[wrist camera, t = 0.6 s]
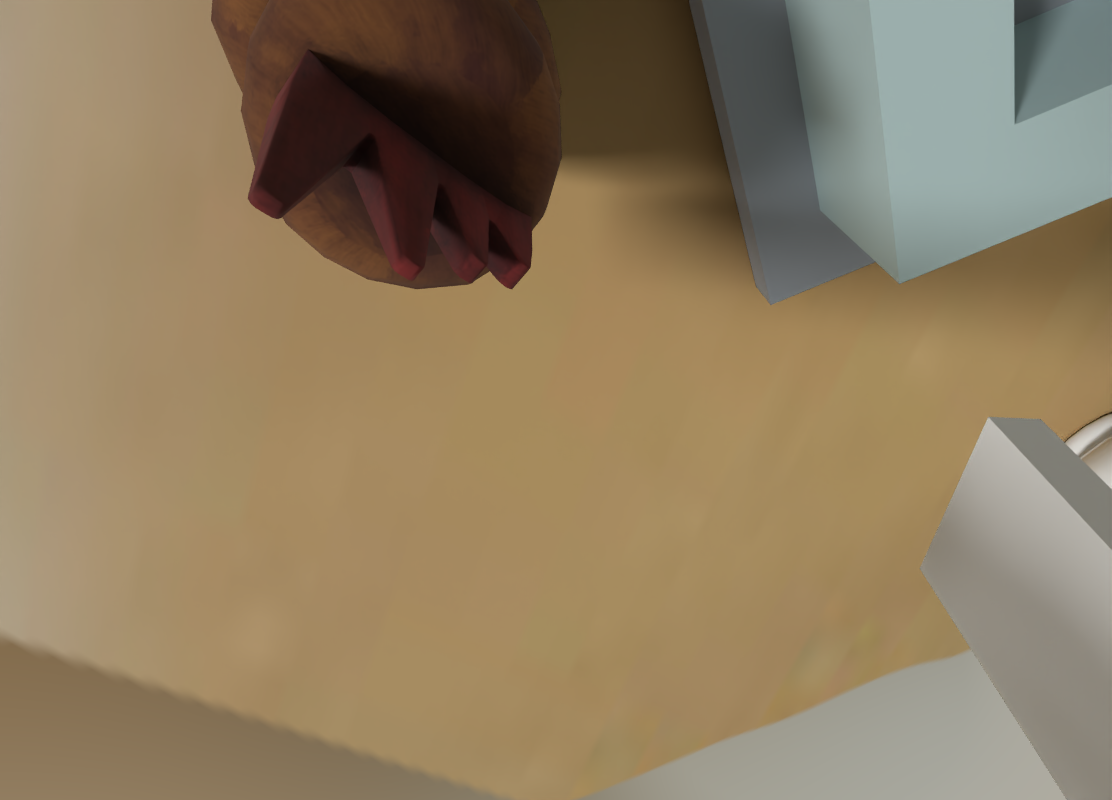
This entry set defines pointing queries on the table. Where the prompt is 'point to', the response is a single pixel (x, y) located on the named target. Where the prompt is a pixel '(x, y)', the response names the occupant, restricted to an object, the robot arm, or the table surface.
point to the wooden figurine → (400, 130)
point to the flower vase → (1095, 447)
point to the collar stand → (904, 127)
